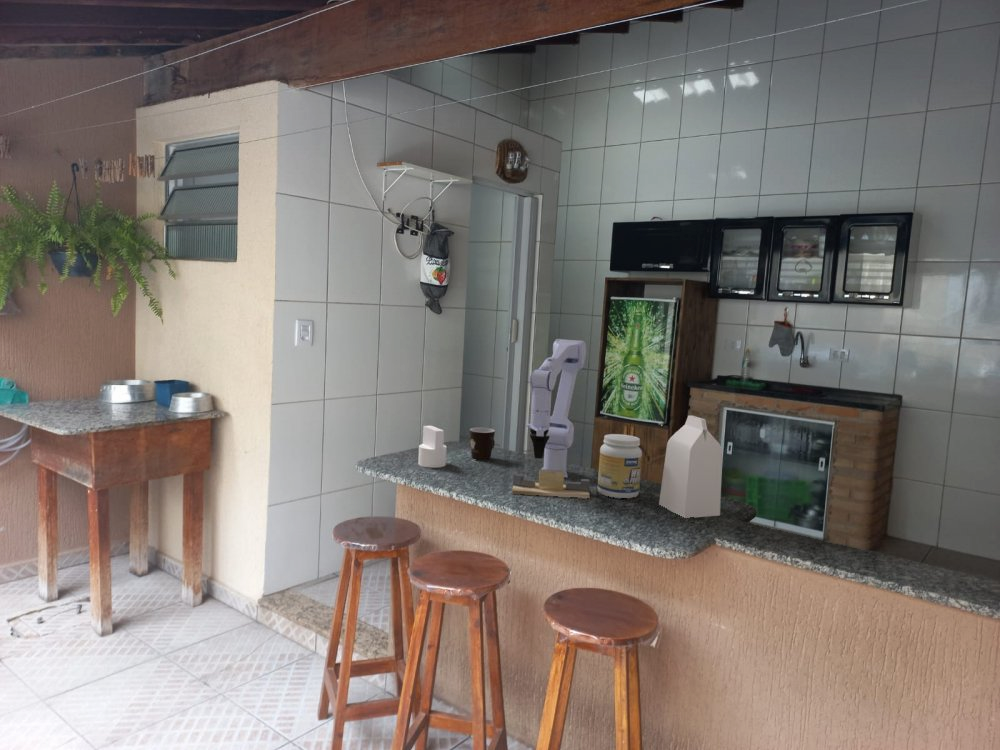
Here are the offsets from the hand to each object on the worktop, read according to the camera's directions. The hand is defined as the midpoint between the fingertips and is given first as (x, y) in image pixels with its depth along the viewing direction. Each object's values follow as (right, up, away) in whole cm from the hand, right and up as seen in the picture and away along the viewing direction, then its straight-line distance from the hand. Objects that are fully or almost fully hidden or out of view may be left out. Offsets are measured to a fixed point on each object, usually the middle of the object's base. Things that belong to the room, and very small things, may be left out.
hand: (538, 455), depth 207 cm
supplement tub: (+23, -11, -3) cm, 26 cm away
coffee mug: (-18, -5, +31) cm, 36 cm away
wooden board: (+3, -10, -4) cm, 11 cm away
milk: (+41, -14, -15) cm, 46 cm away
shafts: (+3, -9, -3) cm, 10 cm away
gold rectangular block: (+3, -9, -4) cm, 11 cm away
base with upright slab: (-34, -6, +21) cm, 40 cm away
